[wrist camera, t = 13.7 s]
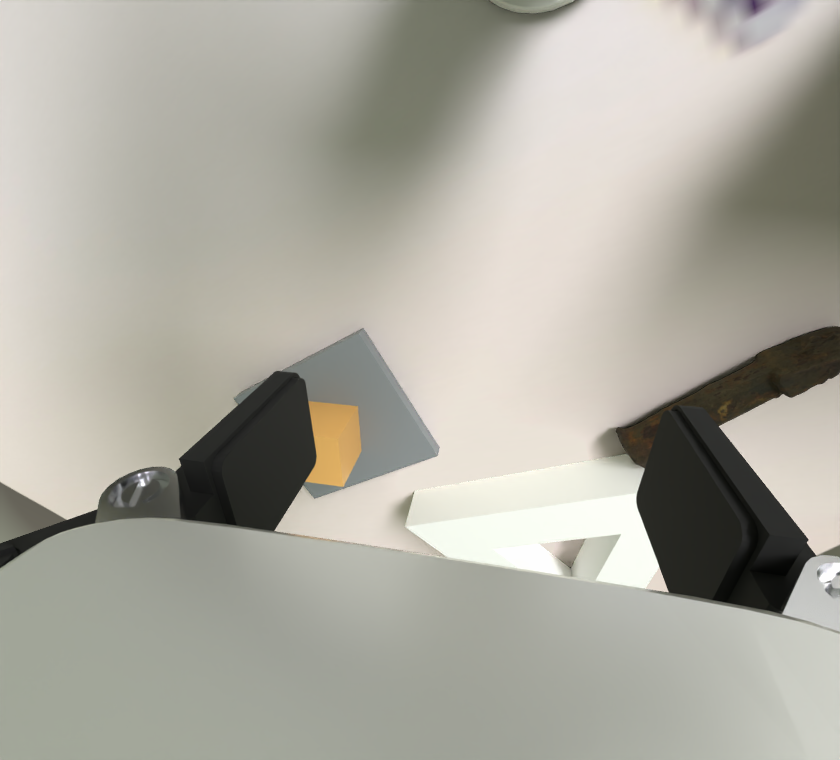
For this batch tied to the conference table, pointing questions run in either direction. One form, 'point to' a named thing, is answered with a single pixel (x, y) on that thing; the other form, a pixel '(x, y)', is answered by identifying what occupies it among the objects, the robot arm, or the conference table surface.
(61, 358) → the conference table surface
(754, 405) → the brown piece
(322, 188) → the conference table surface
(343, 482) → the orange cube
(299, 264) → the conference table surface
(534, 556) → the triangle block
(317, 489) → the peg board
